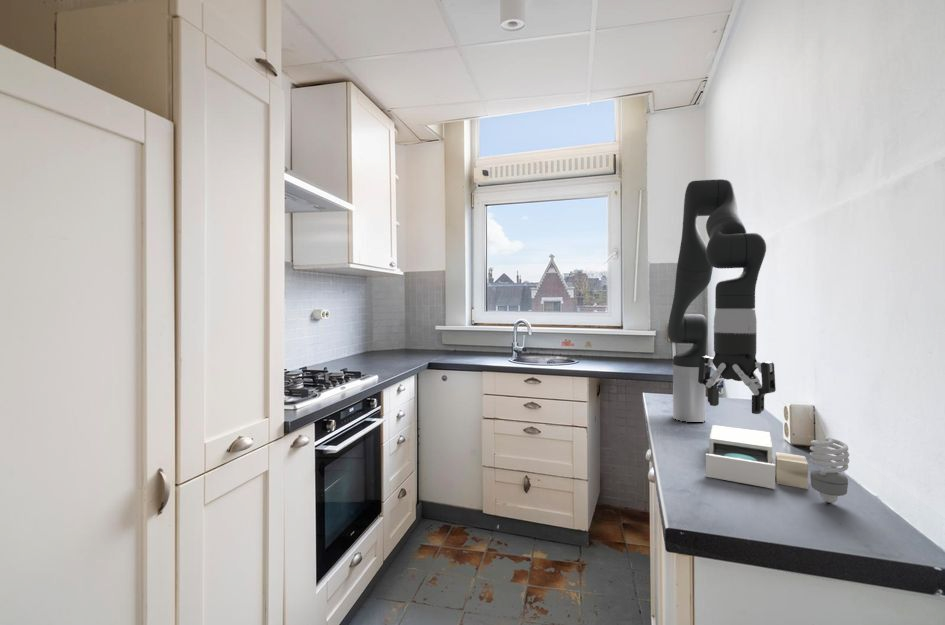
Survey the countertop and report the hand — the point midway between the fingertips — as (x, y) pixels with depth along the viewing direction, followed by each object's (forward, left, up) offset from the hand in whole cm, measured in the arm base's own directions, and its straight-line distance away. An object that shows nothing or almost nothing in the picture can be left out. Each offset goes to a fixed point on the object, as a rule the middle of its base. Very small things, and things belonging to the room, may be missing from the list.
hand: (734, 409), depth 89 cm
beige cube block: (-5, +10, -15) cm, 19 cm away
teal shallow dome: (-4, +1, -13) cm, 14 cm away
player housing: (-16, +1, -15) cm, 22 cm away
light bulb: (+3, +15, -15) cm, 21 cm away
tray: (-5, +1, -15) cm, 16 cm away
